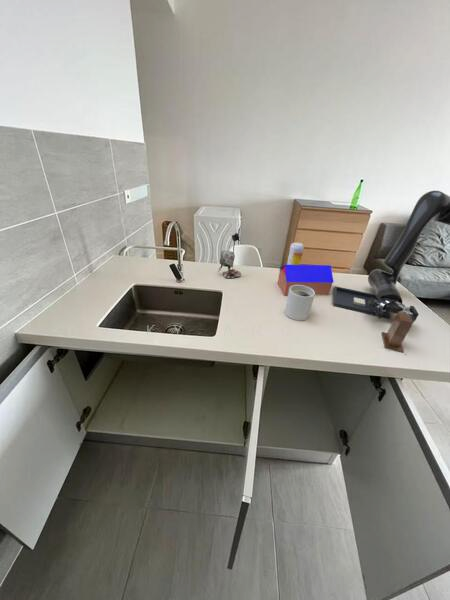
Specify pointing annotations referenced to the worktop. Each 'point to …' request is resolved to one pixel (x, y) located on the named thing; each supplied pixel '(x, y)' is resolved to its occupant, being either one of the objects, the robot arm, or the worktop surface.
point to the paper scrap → (359, 301)
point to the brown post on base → (397, 332)
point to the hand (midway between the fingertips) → (395, 319)
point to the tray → (345, 301)
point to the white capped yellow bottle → (295, 254)
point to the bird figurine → (229, 260)
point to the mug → (299, 302)
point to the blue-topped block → (306, 278)
